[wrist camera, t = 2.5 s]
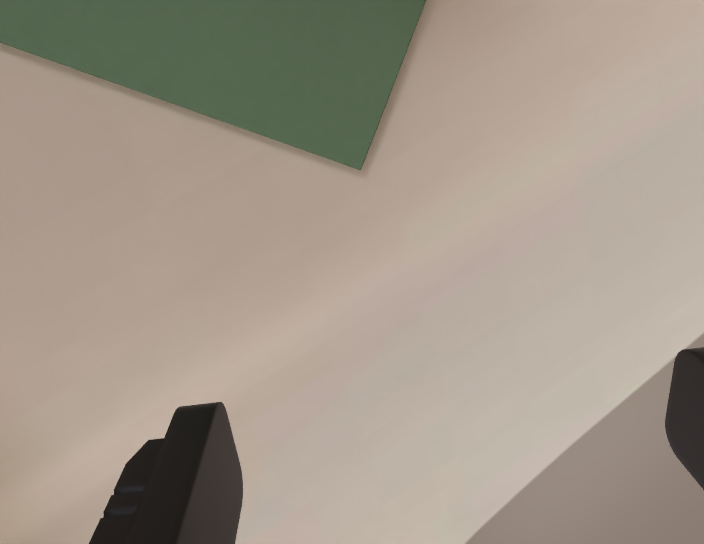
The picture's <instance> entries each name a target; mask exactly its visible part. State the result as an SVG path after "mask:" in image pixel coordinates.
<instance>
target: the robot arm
mask: <svg viewBox="0 0 704 544" xmlns="http://www.w3.org/2000/svg"><path fill="white" fill-rule="evenodd" d="M665 428H666V433H667V438H668V441H669V443H670V446H671V448H672V450H673V452H674V453H675V455H676V456H677V458H678V459H679V460H680V461H681V462H682V464H683V465H684V466H685V467H686V469H687V470H688V471H689V472H690V473H691V475H692V476H693V477H694V478H695V479H696V481H697V482H698V483H699V485H700V486H701V487H702V488H703V490H704V347H702V348H694V349H685V350H682V351H680V352H679V353H678V354H677V356H676V358H675V362H674V368H673V375H672V381H671V387H670V393H669V400H668V406H667V413H666V420H665ZM242 499H243V481H242V472H241V466H240V462H239V458H238V455H237V451H236V447H235V443H234V439H233V435H232V431H231V427H230V423H229V419H228V415H227V412H226V409H225V406H224V405H223V403H222V402H217V403H208V404H199V405H191V406H182V407H178V408H177V409H176V411H175V413H174V415H173V418H172V420H171V423H170V425H169V428H168V430H167V433H166V435H165V438H163V439H154V440H148V441H147V442H146V443H145V444H144V445H143V447H142V448H141V449H140V450H139V451H138V452H137V453H136V454H135V455H134V456H133V457H132V458H131V459H130V460H129V461H128V462H127V463H126V465H125V467H124V469H123V472H122V474H121V476H120V478H119V480H118V482H117V485H116V487H115V489H114V495H111V497H110V500H109V502H108V504H107V506H106V508H105V510H104V512H103V513H104V517H103V518H101V519H100V521H99V523H98V525H97V528H96V530H95V532H94V534H93V536H92V538H91V540H90V543H89V544H235V540H236V534H237V529H238V523H239V518H240V512H241V507H242Z"/></svg>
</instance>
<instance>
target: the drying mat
mask: <svg viewBox="0 0 704 544" xmlns="http://www.w3.org/2000/svg"><path fill="white" fill-rule="evenodd" d="M425 1H426V0H0V42H1V43H3V44H6V45H9V46H12V47H15V48H17V49H20V50H23V51H26V52H29V53H32V54H34V55H37V56H40V57H43V58H46V59H48V60H51V61H54V62H57V63H60V64H63V65H65V66H68V67H71V68H74V69H77V70H80V71H82V72H85V73H88V74H91V75H94V76H96V77H99V78H102V79H105V80H108V81H111V82H113V83H116V84H119V85H122V86H125V87H128V88H130V89H133V90H136V91H139V92H142V93H144V94H147V95H150V96H153V97H156V98H159V99H161V100H164V101H167V102H170V103H173V104H175V105H178V106H181V107H184V108H187V109H190V110H192V111H195V112H198V113H201V114H204V115H207V116H209V117H212V118H215V119H218V120H221V121H223V122H226V123H229V124H232V125H235V126H238V127H240V128H243V129H246V130H249V131H252V132H255V133H257V134H260V135H263V136H266V137H269V138H271V139H274V140H277V141H280V142H283V143H286V144H288V145H291V146H294V147H297V148H300V149H302V150H305V151H308V152H311V153H314V154H317V155H319V156H322V157H325V158H328V159H331V160H334V161H336V162H339V163H342V164H345V165H348V166H350V167H353V168H356V169H359V170H361V168H362V165H363V163H364V160H365V158H366V155H367V152H368V150H369V147H370V145H371V142H372V139H373V137H374V134H375V132H376V129H377V126H378V124H379V121H380V119H381V116H382V113H383V111H384V108H385V106H386V103H387V100H388V98H389V95H390V93H391V90H392V87H393V85H394V82H395V79H396V77H397V74H398V72H399V69H400V66H401V64H402V61H403V59H404V56H405V53H406V51H407V48H408V46H409V43H410V40H411V38H412V35H413V33H414V30H415V27H416V25H417V22H418V20H419V17H420V14H421V12H422V9H423V7H424V4H425Z"/></svg>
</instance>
